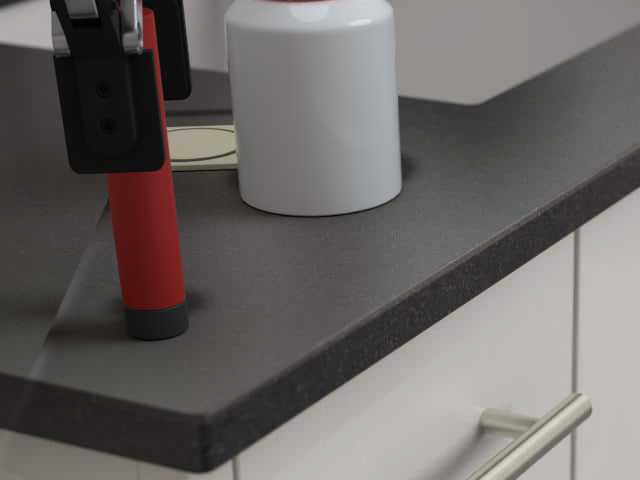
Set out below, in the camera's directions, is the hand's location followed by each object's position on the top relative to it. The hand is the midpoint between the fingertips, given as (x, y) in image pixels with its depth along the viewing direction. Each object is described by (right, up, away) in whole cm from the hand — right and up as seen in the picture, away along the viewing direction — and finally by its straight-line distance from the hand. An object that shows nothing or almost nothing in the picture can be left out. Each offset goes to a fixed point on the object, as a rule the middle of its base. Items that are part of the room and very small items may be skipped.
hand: (136, 131), depth 60 cm
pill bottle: (+5, +1, +19) cm, 19 cm away
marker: (0, -7, +4) cm, 8 cm away
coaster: (-3, +5, +25) cm, 25 cm away
